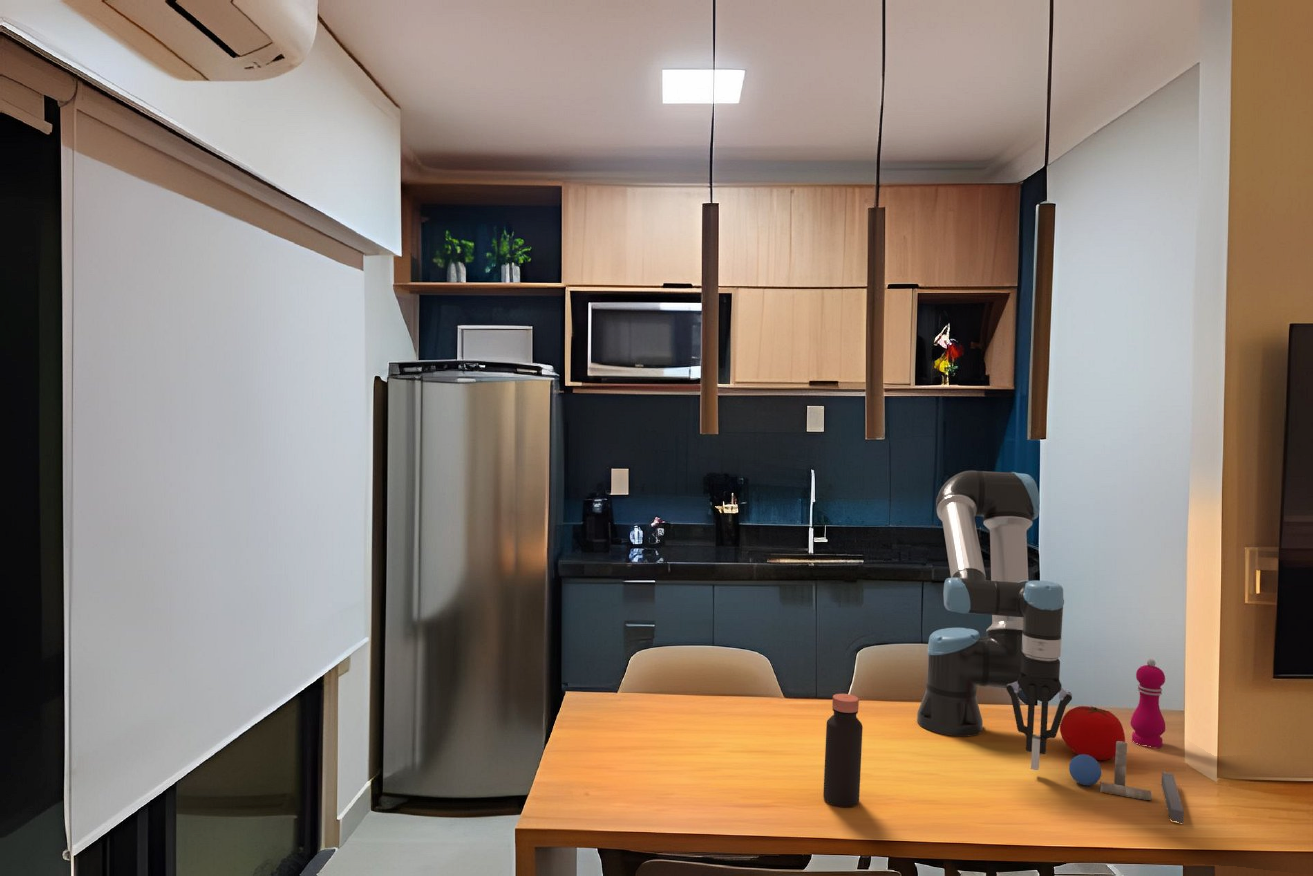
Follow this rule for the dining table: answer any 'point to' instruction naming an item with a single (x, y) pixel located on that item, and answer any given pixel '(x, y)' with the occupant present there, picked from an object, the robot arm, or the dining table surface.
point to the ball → (1085, 769)
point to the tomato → (1092, 732)
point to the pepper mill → (1148, 706)
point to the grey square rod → (1172, 797)
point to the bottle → (843, 753)
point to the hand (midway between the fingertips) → (1034, 767)
